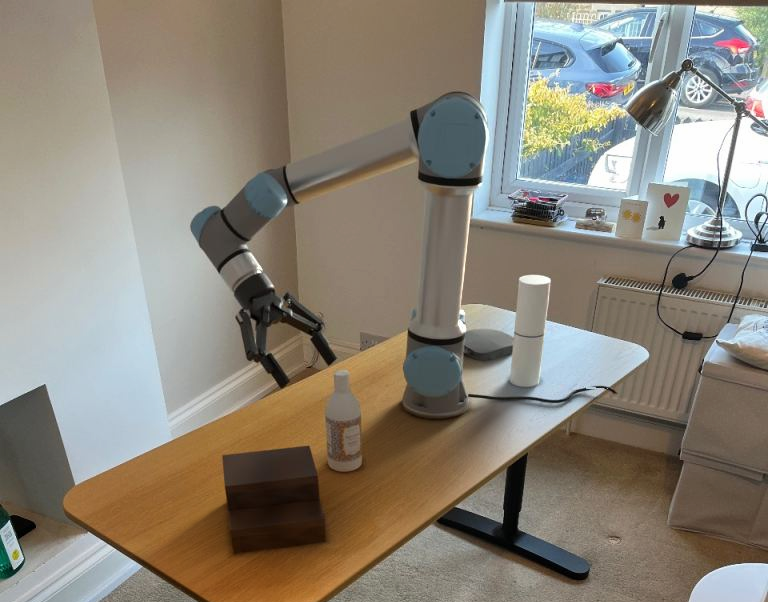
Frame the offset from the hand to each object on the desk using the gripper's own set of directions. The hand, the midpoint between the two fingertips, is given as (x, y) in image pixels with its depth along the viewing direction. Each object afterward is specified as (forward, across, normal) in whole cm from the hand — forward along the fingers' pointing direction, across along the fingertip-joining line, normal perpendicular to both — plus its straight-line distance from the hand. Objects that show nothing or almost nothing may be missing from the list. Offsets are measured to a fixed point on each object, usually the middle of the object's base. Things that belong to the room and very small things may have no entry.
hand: (310, 373), depth 150 cm
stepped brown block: (+20, +23, -5) cm, 31 cm away
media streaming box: (+12, -70, -14) cm, 72 cm away
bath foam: (+18, 0, -7) cm, 20 cm away
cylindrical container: (+25, -58, 0) cm, 63 cm away
